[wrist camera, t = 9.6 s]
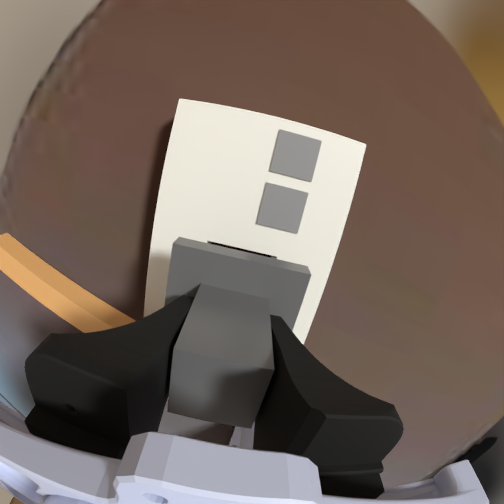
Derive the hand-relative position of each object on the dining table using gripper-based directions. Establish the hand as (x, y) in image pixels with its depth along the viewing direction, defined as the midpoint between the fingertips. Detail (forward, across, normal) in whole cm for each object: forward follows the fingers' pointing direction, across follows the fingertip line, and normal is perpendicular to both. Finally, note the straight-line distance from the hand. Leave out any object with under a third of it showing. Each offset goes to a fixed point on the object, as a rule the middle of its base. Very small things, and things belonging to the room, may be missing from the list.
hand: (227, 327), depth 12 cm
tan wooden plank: (+5, +9, +3) cm, 10 cm away
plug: (+4, 0, 0) cm, 4 cm away
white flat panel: (+7, 0, -1) cm, 7 cm away
